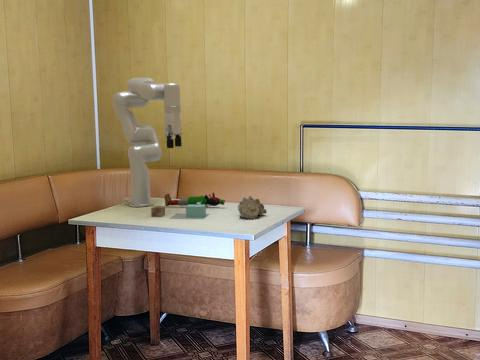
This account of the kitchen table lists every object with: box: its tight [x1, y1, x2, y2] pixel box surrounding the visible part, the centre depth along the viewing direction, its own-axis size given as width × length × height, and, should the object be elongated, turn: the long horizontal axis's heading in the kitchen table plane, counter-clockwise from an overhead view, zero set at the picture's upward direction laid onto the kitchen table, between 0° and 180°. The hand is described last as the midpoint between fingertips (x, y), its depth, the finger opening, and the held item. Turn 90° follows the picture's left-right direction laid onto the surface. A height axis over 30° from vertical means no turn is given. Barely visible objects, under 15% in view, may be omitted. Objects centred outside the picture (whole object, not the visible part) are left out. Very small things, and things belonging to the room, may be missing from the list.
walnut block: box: [150, 205, 166, 218], centre depth 277 cm, size 5×5×5 cm
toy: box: [164, 192, 226, 213], centre depth 299 cm, size 33×8×30 cm
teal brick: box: [185, 204, 207, 218], centre depth 274 cm, size 8×5×5 cm, turn 80°
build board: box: [169, 213, 210, 220], centre depth 275 cm, size 16×12×1 cm
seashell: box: [237, 195, 268, 220], centre depth 274 cm, size 11×14×10 cm
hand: (174, 147), depth 280 cm, fingers open, 9 cm apart
